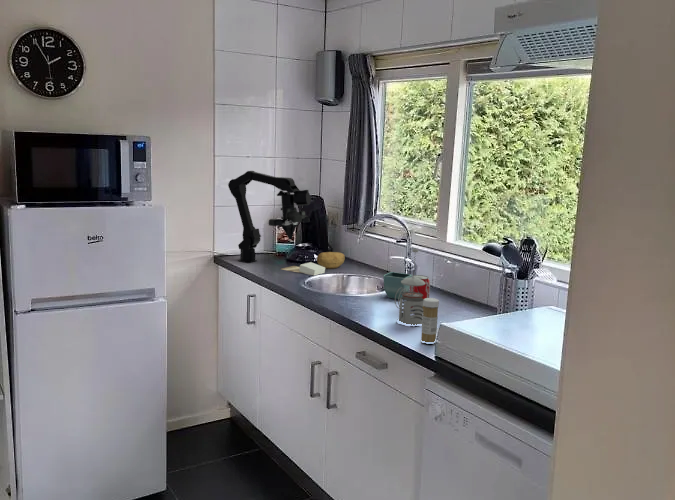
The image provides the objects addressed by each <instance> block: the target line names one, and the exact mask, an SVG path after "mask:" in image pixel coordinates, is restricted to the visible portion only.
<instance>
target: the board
mask: <svg viewBox="0 0 675 500" xmlns="http://www.w3.org/2000/svg"><path fill="white" fill-rule="evenodd" d="M299 269H300V266H297V265H292V266H287V267H286V266H285V267H283V268H281V270H284V271H287V272H294V273H299V274H305V273H302V272H300V271H299Z"/></svg>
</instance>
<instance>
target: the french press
mask: <svg viewBox="0 0 675 500" xmlns="http://www.w3.org/2000/svg"><path fill="white" fill-rule="evenodd" d="M412 252H413V253H414V254H417V253H419V249H418V248H414V247H413V249H412ZM415 263H416V257H414V261H413V268H415ZM414 275H415V271H413V272H412V277H410V278H405V279H404V280H402V281H401V283H402V284H403V285H407V286H423V285H425V284H426V283H425V282H424V281H423V280H421V279H419V278H415V277H414ZM401 288H402V287H401ZM399 289H400V288H399ZM399 289H398V291H399ZM404 289H405V291H403V290H404ZM404 289H403V288H402V291H403V293H402V296H403V297H401V298H400V299H399V298H398V299H396V295H395V299H394V304H395V307H396V308H397V309H399V310H398V313H399V314H398V319H399V321H401V322H403V323H406V324H411V325H412V324H413V325H415V324H416V325H417V324H422V318H423V306H424V305H423V300H424V299H423V298H421V297H423V294H421V293H416V292H413V287H412V292H410V291H408V292H406V288H404ZM398 291H397V292H398ZM402 291H401V292H402ZM396 294H397V293H396ZM400 294H401V293H400ZM400 294H399V297H400ZM396 300H397V301H396ZM397 304H398V306H397ZM411 306H415V307H413V308H411ZM414 310H415V311H414Z"/></svg>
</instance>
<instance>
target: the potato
mask: <svg viewBox="0 0 675 500" xmlns="http://www.w3.org/2000/svg"><path fill="white" fill-rule="evenodd" d="M345 257H346V255H345V254H344V253H342V252H340V251H326V252H320V253H319V254H318V255H317V257H316V262H317V265H320V266H322V267H325V269H327V270H329V269H337V268H339V267H341V265H343V264H344V262H345V259H346V258H345Z"/></svg>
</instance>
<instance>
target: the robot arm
mask: <svg viewBox="0 0 675 500" xmlns="http://www.w3.org/2000/svg"><path fill="white" fill-rule="evenodd" d="M252 181H255V182H259V183H262V184H267V185H270V186H273V187H275V188H276V189H279V192H278V193H277V194H276V196H277V197H281V207H280V211H282V212H281V213H282V214H281V215H282V216H281V218H270V219H269V220H268V226H271V227H277V226H279V227H282V229H283V231H284V232H285V234H286V236H287V238H288V240H290V241H291V240H293V237H294V233H295V230H296V228H297V226H299V225H300V223H309V222H310V217H309V216H308V215H306V211H305V210H300V211H297V207H295V205H296V206H309V205H310V204H311V203H312V197H311V194H310V193H309V189H303V190H301V189H299V187H298V186H297V184H296V183H295V180H294V179H293V178H292V177H286V176H285V177H283V176H282V177H279V176H273V175H269V174H265V173H262V172H261V173H260V172H258V171H257V172H256V171H254V170H247V171H246V172H245V173H243V174H241V175H239V176H237V177H236V178H234V179H233V178H232V179H231V180H230V181H228V184H227V185H228V189H229V191H230V193H231V195H232V196H233V198H234V199H235V202H236V205H237V209H238V213H239V216H240V219H241V225H242V241H241V242H239V244H237V246H238V249H239V250H240V253H239V254H240V259H237V261H238V262H241V263H247V264H251V263H254V262H258V260H257V259H256V248H257V246H258V244H260V241H261V237H262V235H261V233H260V229H259V228H256V227H255V225H254V224H253V220H252V216H251V212H250V207H249V205H248V201H247V197H246V196H247V185H249V184H250V183H251V182H252Z"/></svg>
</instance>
